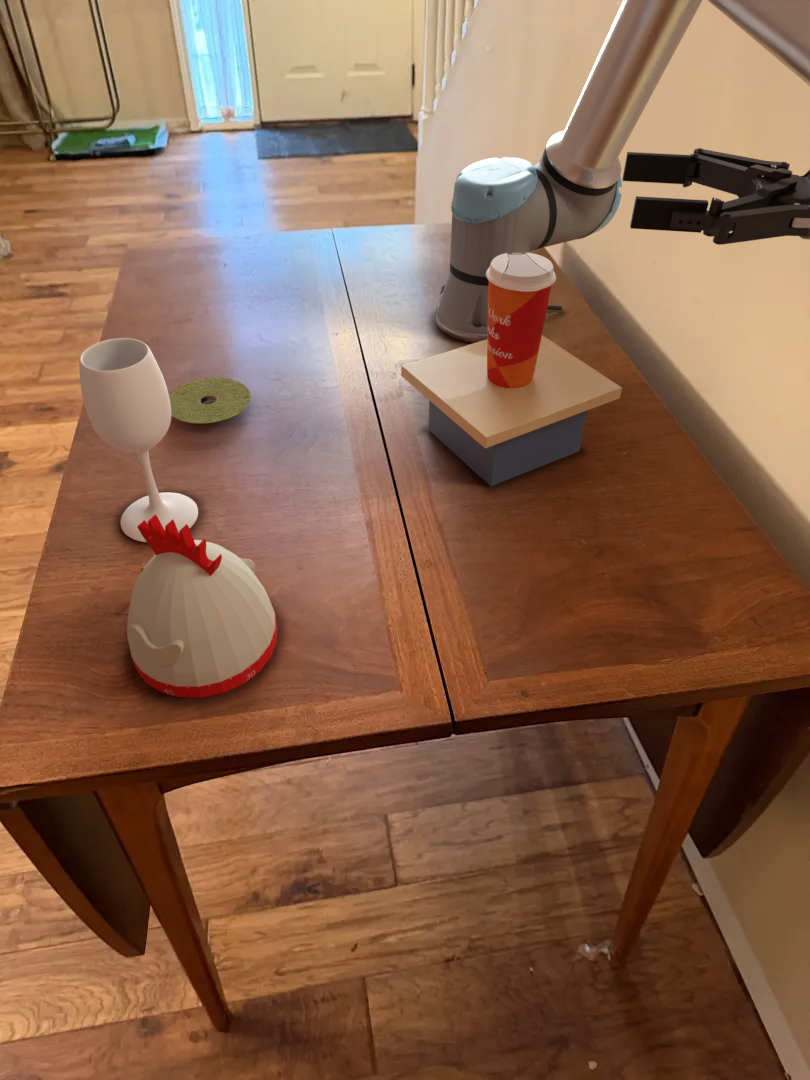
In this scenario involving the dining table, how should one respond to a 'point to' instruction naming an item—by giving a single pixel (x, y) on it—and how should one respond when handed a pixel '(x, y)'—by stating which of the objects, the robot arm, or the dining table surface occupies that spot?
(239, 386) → the green disc with hole
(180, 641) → the kitchen timer
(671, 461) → the dining table surface
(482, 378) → the stand
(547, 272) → the paper cup
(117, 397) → the wineglass
